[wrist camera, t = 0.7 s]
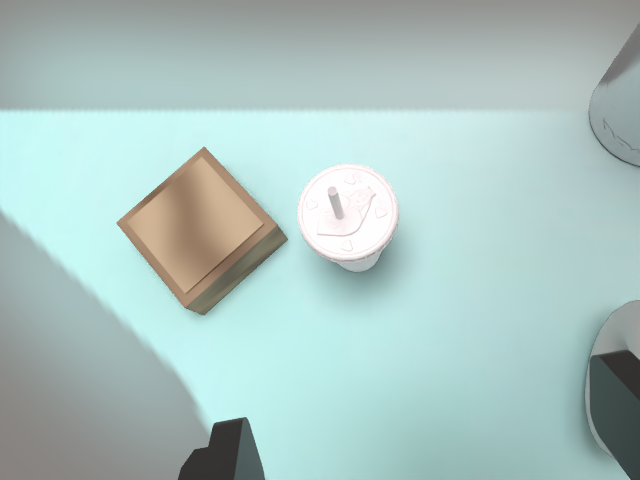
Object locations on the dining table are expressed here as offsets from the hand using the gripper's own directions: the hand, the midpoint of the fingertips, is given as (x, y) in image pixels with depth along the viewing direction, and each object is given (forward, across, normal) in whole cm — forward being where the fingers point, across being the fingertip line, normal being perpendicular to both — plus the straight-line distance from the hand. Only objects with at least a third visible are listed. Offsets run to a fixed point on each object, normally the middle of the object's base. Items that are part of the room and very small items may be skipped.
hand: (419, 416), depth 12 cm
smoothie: (+29, 0, +8) cm, 30 cm away
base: (+32, +11, +5) cm, 34 cm away
